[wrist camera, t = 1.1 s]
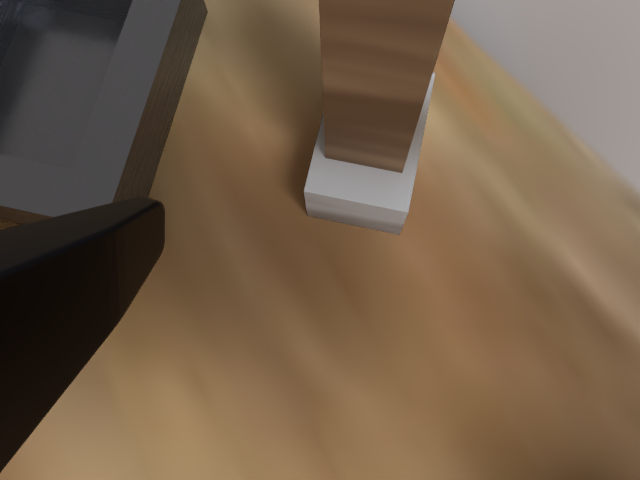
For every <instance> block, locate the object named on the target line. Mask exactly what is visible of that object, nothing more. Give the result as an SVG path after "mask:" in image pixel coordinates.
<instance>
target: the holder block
mask: <svg viewBox="0 0 640 480" xmlns="http://www.w3.org/2000/svg"><path fill="white" fill-rule="evenodd" d="M207 12H208V11H207V8H206V5H205V2H204V0H0V220H4V221H9V222H14V223H18V224H27V223H31V222H35V221H39V220H43V219H47V218H51V217H56V216H60V215H64V214H68V213H72V212H76V211H80V210H84V209H88V208H93V207H97V206H101V205H105V204H109V203H113V202H117V201H121V200H125V199H130V198H134V197H138V196H143V197H146V198H148V195H149V192H150V189H151V186H152V182H153V179H154V176H155V173H156V170H157V167H158V164H159V161H160V158H161V155H162V151H163V148H164V145H165V142H166V139H167V136H168V133H169V130H170V127H171V124H172V120H173V117H174V114H175V111H176V108H177V105H178V102H179V99H180V96H181V92H182V89H183V86H184V83H185V80H186V77H187V74H188V71H189V68H190V65H191V61H192V58H193V55H194V52H195V49H196V46H197V43H198V40H199V37H200V33H201V30H202V27H203V24H204V21H205V18H206V15H207Z"/></svg>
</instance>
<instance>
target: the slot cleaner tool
mask: <svg viewBox="0 0 640 480" xmlns="http://www.w3.org/2000/svg"><path fill="white" fill-rule="evenodd" d="M454 1H455V0H319V12H320V37H321V63H322V88H323V115H322V119H321V124H320V128H319V132H318V136H317V140H316V144H315V148H314V152H313V156H312V160H311V164H310V168H309V172H308V176H307V180H306V184H305V188H304V196H305V203H306V209H307V216H311V217H316V218H321V219H325V220H330V221H335V222H340V223H345V224H350V225H354V226H359V227H364V228H369V229H374V230H379V231H383V232H388V233H393V234H398V235H400V232H401V230H402V227H403V225H404V222H405V220H406V217H407V215H408V211H409V206H410V201H411V196H412V191H413V186H414V180H415V175H416V170H417V165H418V160H419V154H420V149H421V144H422V139H423V134H424V129H425V123H426V118H427V113H428V108H429V103H430V98H431V92H432V87H433V82H434V77H435V73H433V70H434V67H435V64H436V60H437V57H438V54H439V50H440V47H441V44H442V40H443V37H444V34H445V31H446V27H447V24H448V21H449V17H450V14H451V11H452V7H453V4H454Z"/></svg>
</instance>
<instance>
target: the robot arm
mask: <svg viewBox="0 0 640 480" xmlns="http://www.w3.org/2000/svg"><path fill="white" fill-rule="evenodd" d="M164 242H165V210H164V205H163V204H162V203H161V202H160V201H157V200H153V199H150V198H146V197H143V196H138V197H134V198H130V199H125V200H121V201H117V202H113V203H109V204H105V205H101V206H97V207H93V208H88V209H84V210H80V211H76V212H72V213H68V214H64V215H60V216H56V217H51V218H47V219H43V220H39V221H35V222H31V223H27V224H23V225H19V226H15V227H10V228H6V229H2V230H0V473H1V471H2V470H3V469H4V467H5V466H6V465H7V464H8V462H9V461H10V460H11V459H12V457H13V456H14V455H15V454H16V452H17V451H18V450H19V448H20V447H21V446H22V445H23V443H24V442H25V441H26V440H27V438H28V437H29V436H30V435H31V433H32V432H33V431H34V429H35V428H36V427H37V426H38V424H39V423H40V422H41V421H42V419H43V418H44V417H45V416H46V414H47V413H48V412H49V410H50V409H51V408H52V407H53V405H54V404H55V403H56V402H57V400H58V399H59V398H60V397H61V395H62V394H63V393H64V391H65V390H66V389H67V388H68V386H69V385H70V384H71V383H72V381H73V380H74V379H75V378H76V376H77V375H78V374H79V372H80V371H81V370H82V369H83V367H84V366H85V365H86V364H87V362H88V361H89V360H90V359H91V357H92V356H93V355H94V353H95V352H96V351H97V350H98V348H99V347H100V346H101V345H102V343H103V342H104V341H105V339H106V338H107V337H108V336H109V334H110V333H111V332H112V331H113V329H114V328H115V327H116V325H117V324H118V323H119V321H120V320H121V318H122V317H123V315H124V314H125V312H126V311H127V309H128V308H129V306H130V304H131V303H132V301H133V299H134V298H135V296H136V295H137V293H138V291H139V290H140V288H141V286H142V285H143V283H144V282H145V280H146V278H147V277H148V275H149V273H150V272H151V270H152V269H153V267H154V265H155V264H156V262H157V260H158V259H159V257H160V255H161V253H162V251H163V248H164Z"/></svg>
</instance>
